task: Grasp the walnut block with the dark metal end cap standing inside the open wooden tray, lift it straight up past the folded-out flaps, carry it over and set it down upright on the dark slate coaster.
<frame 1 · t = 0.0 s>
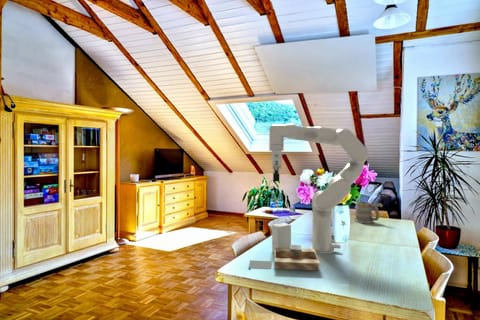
hand: (276, 180, 174), 37 cm above the table, tool pointing down, fingers open, 9 cm apart
block: (295, 264, 151), resting on wooden tray
wooden tray: (295, 265, 151), on the table
tankard: (368, 222, 242), on the table
coaster: (260, 265, 150), on the table
skincare box: (281, 253, 169), on the table
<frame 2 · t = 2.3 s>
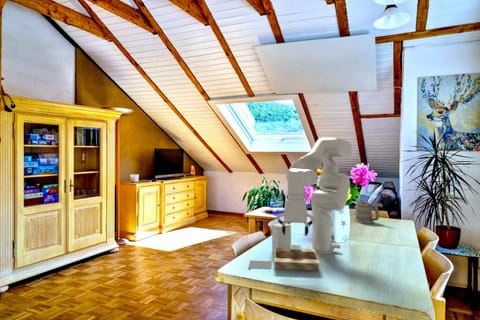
hand: (295, 234, 150), 14 cm above the table, tool pointing down, fingers open, 9 cm apart
nothing on the table moved.
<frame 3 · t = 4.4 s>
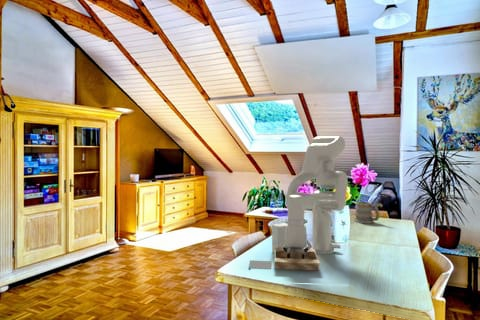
hand: (295, 261, 151), 2 cm above the table, tool pointing down, fingers closed on block, 5 cm apart
block: (295, 264, 151), resting on wooden tray, touching gripper
everything else where it was.
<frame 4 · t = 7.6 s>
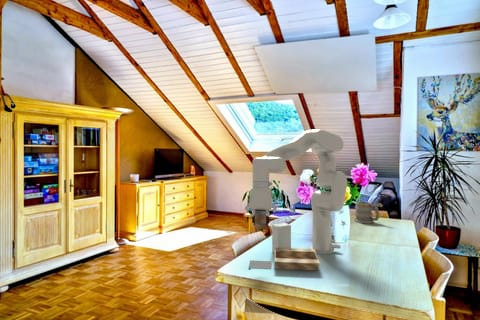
hand: (260, 224, 150), 19 cm above the table, tool pointing down, fingers closed on block, 5 cm apart
block: (260, 227, 150), point 18 cm above the table, touching gripper
everything else where it was.
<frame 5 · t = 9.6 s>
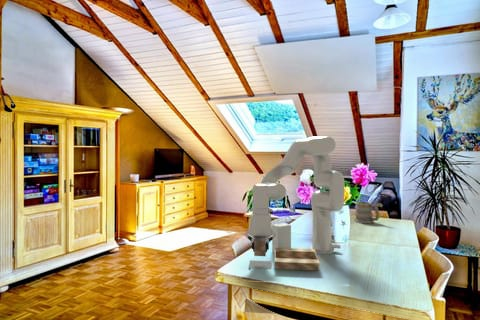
hand: (260, 250, 150), 7 cm above the table, tool pointing down, fingers closed on block, 5 cm apart
block: (260, 253, 150), point 6 cm above the table, touching gripper
everything else where it was.
when the fingers open (3 cm above the table, at t = 11.2 s): block drops 1 cm, resting on coaster.
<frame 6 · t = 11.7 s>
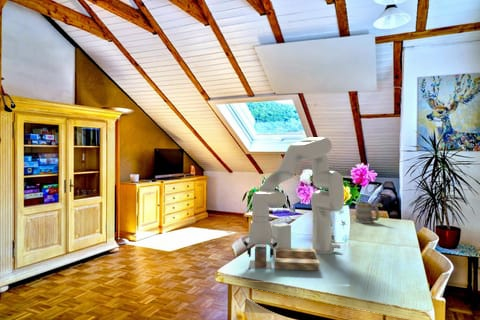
hand: (260, 256, 150), 4 cm above the table, tool pointing down, fingers open, 9 cm apart
block: (260, 264, 150), point 1 cm above the table, touching coaster
everything else where it was.
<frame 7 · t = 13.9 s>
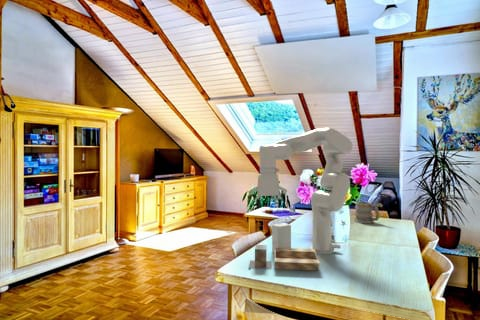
hand: (268, 207, 155), 26 cm above the table, tool pointing down, fingers open, 9 cm apart
nothing on the table moved.
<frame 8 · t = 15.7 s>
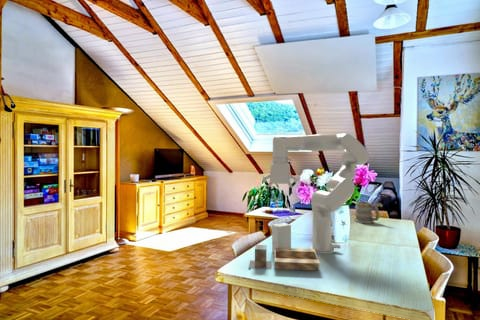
hand: (280, 195, 164), 30 cm above the table, tool pointing down, fingers open, 9 cm apart
nothing on the table moved.
at the end: block 0.2 cm from the coaster (horizontally); block point 0.6 cm above the table; block tilted 0° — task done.
